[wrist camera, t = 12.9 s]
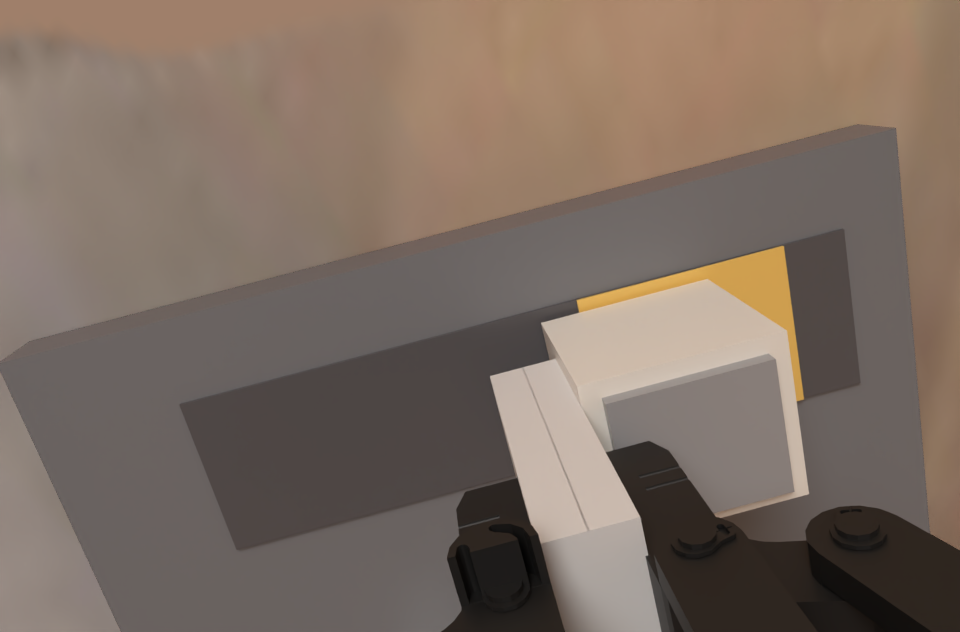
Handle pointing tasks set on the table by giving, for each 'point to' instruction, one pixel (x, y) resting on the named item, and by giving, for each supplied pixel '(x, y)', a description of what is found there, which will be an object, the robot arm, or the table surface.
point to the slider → (691, 389)
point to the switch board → (454, 389)
